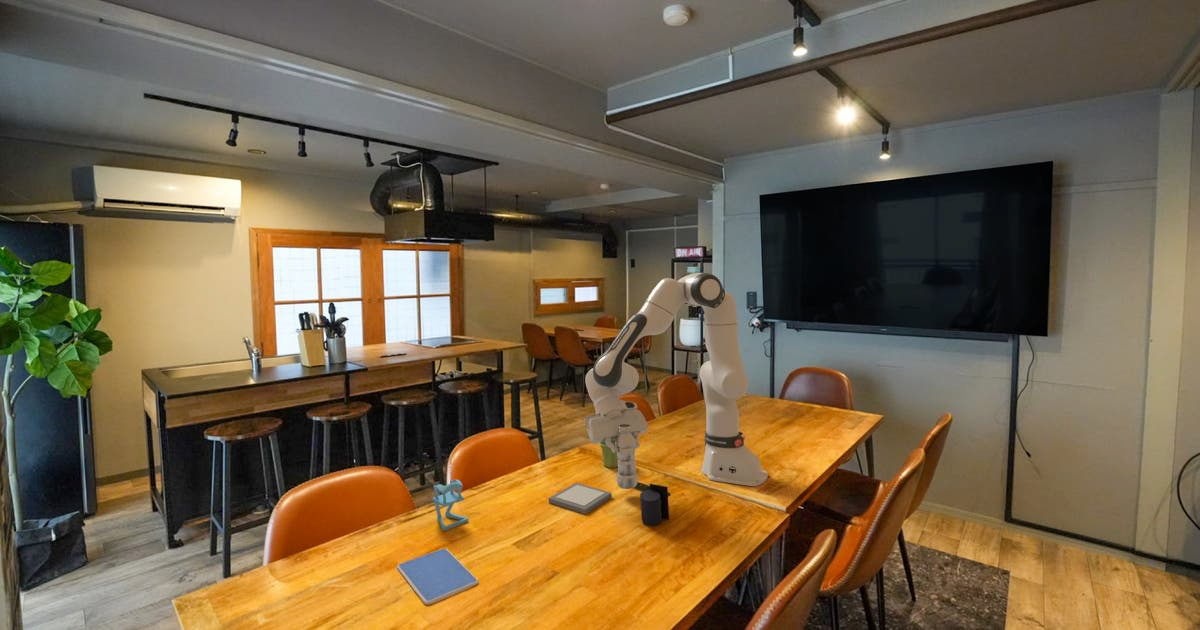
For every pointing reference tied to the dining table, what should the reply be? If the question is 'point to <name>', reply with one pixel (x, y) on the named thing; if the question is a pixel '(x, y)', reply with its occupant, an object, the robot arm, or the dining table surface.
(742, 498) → the dining table surface
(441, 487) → the chair
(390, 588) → the dining table surface
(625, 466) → the plastic bottle
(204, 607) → the dining table surface
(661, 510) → the speaker
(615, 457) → the plant pot
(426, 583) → the tablet computer
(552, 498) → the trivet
